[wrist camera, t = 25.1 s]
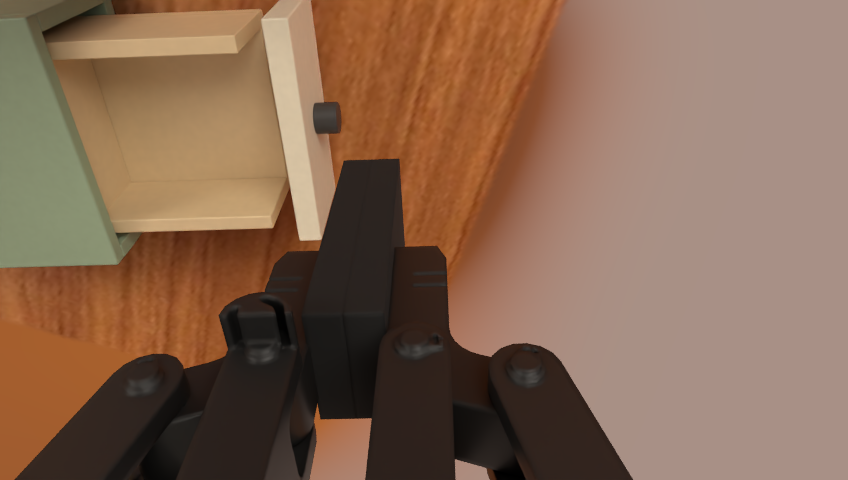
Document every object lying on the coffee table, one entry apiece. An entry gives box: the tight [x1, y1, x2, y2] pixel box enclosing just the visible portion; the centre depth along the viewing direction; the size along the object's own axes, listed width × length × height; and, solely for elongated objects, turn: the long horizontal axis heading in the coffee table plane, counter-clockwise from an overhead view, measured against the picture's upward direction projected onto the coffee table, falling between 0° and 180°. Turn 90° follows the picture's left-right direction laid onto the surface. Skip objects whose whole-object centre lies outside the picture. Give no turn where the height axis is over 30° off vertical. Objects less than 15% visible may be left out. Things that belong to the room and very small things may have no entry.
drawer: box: [42, 0, 341, 241], centre depth 32 cm, size 14×11×6 cm
